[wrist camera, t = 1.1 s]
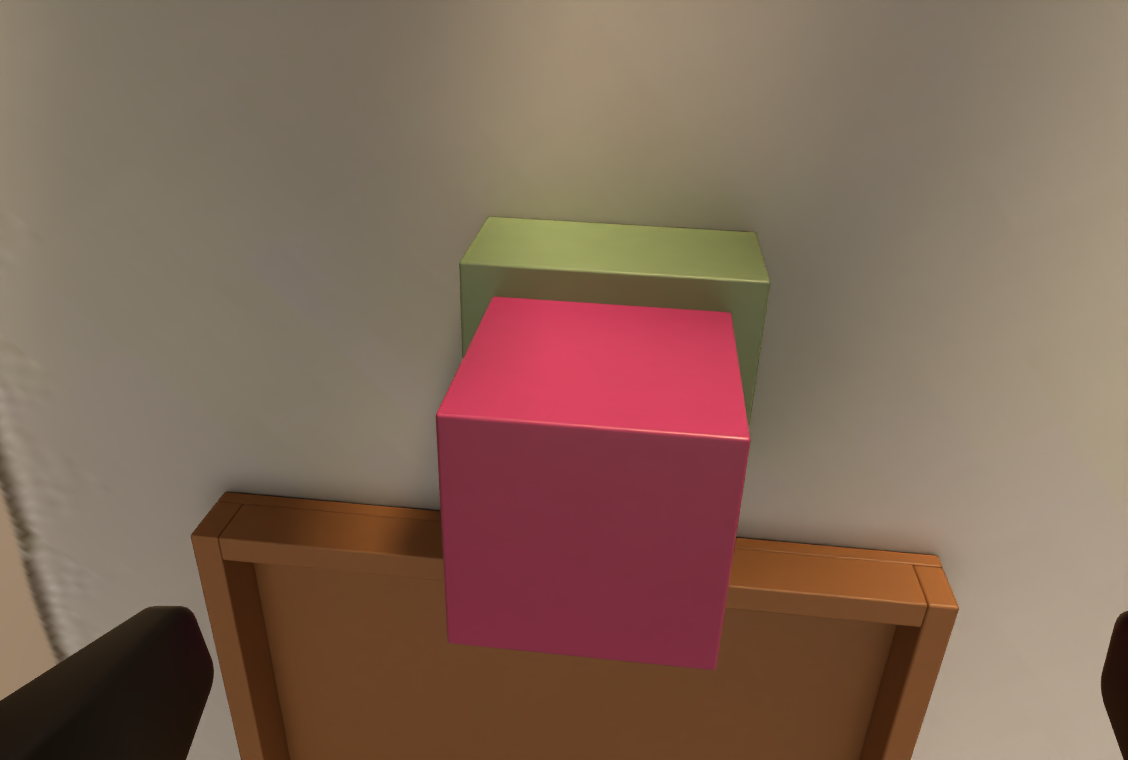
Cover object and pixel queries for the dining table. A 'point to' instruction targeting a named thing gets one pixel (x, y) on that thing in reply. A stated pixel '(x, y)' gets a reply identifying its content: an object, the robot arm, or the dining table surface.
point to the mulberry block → (593, 481)
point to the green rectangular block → (621, 273)
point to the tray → (550, 681)
